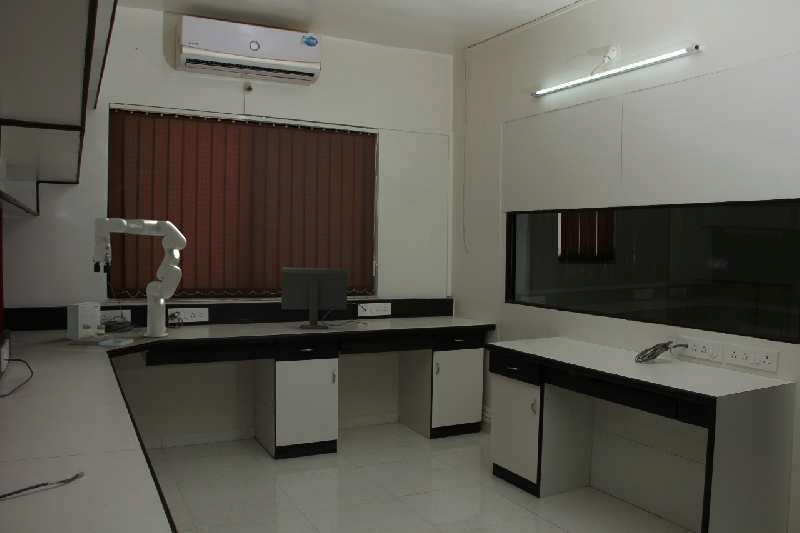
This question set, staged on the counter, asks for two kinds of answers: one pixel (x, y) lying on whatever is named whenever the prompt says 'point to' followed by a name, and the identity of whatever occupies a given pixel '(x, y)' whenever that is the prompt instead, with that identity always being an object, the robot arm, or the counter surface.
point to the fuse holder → (91, 340)
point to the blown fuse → (100, 331)
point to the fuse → (86, 331)
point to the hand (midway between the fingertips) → (101, 272)
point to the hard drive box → (83, 318)
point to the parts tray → (108, 343)
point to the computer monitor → (314, 291)
